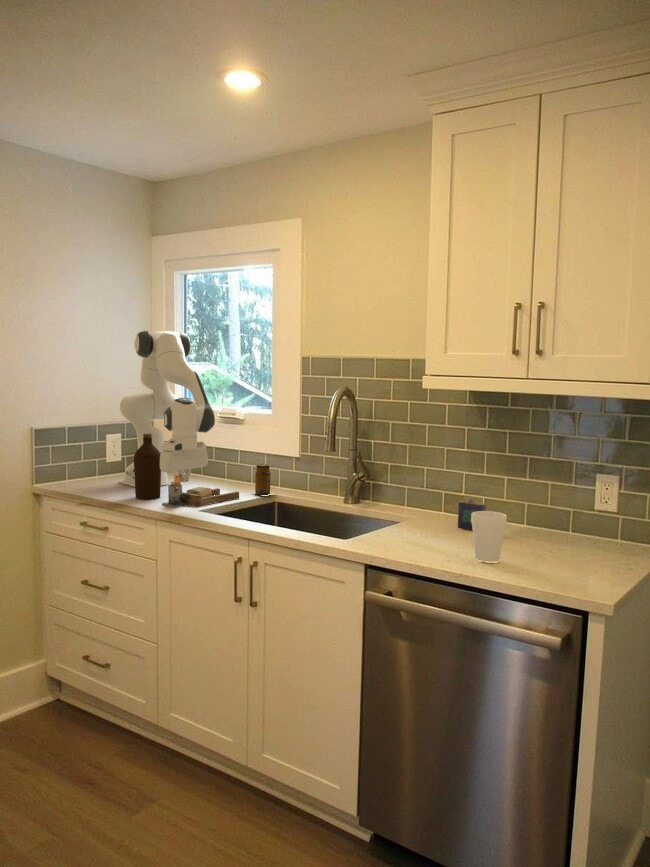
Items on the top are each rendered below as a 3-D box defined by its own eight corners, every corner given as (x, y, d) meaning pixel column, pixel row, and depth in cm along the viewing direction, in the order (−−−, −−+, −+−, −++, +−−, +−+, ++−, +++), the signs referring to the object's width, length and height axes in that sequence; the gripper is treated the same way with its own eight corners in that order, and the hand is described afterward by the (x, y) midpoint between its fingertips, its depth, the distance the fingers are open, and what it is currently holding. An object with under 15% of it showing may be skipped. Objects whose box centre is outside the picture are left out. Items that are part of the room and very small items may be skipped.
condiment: (265, 492, 299) (265, 463, 298) (277, 495, 293) (277, 466, 292) (250, 494, 295) (250, 464, 294) (262, 497, 288) (262, 467, 287)
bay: (175, 502, 275) (175, 491, 274) (217, 494, 292) (217, 484, 292) (197, 506, 268) (197, 495, 267) (239, 498, 285) (239, 488, 285)
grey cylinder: (162, 505, 269) (162, 485, 268) (176, 502, 274) (176, 483, 274) (175, 507, 265) (175, 487, 264) (188, 505, 270) (188, 485, 269)
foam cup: (464, 561, 199) (466, 515, 198) (477, 554, 207) (478, 509, 206) (497, 567, 194) (499, 519, 193) (509, 560, 202) (511, 513, 200)
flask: (486, 530, 237) (487, 498, 236) (483, 532, 234) (484, 499, 233) (459, 527, 241) (460, 495, 240) (455, 528, 239) (456, 496, 238)
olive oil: (166, 498, 282) (166, 434, 279) (140, 501, 276) (139, 435, 273) (155, 494, 290) (154, 432, 288) (129, 496, 284) (129, 433, 282)
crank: (170, 484, 270) (170, 471, 269) (179, 483, 271) (179, 470, 270) (173, 489, 259) (173, 475, 258) (182, 489, 260) (182, 475, 259)
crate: (186, 503, 274) (186, 489, 273) (198, 500, 281) (198, 486, 280) (199, 505, 271) (199, 491, 271) (211, 501, 278) (211, 488, 278)
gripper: (199, 440, 270) (199, 477, 272) (156, 445, 254) (157, 484, 255) (211, 441, 267) (211, 479, 268) (169, 447, 250) (169, 486, 252)
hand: (184, 481), depth 262 cm, fingers closed
